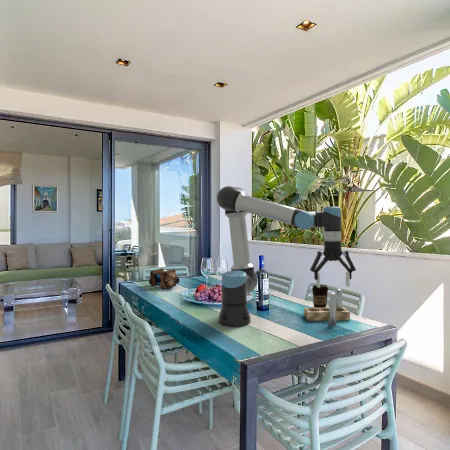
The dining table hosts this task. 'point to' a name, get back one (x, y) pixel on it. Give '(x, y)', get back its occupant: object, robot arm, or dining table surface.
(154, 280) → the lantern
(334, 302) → the peg
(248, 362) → the dining table surface
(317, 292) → the coffee cup
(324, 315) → the hole block
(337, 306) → the peg right
